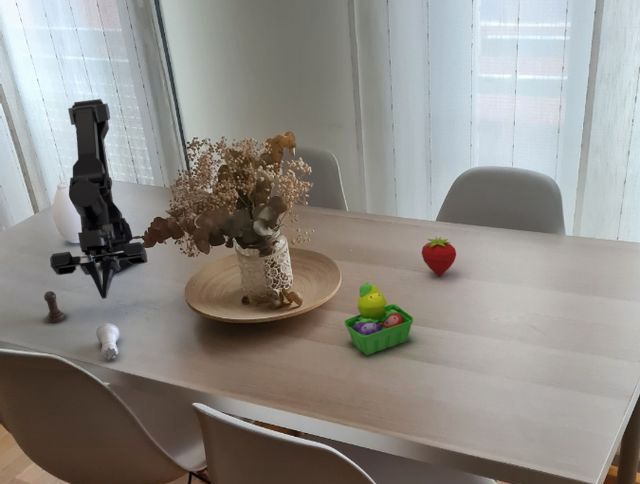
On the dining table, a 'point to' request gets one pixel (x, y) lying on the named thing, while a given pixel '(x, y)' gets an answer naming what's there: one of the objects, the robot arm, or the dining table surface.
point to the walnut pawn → (53, 308)
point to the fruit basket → (377, 322)
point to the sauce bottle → (66, 214)
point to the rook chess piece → (108, 340)
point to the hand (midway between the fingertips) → (104, 298)
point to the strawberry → (439, 255)
